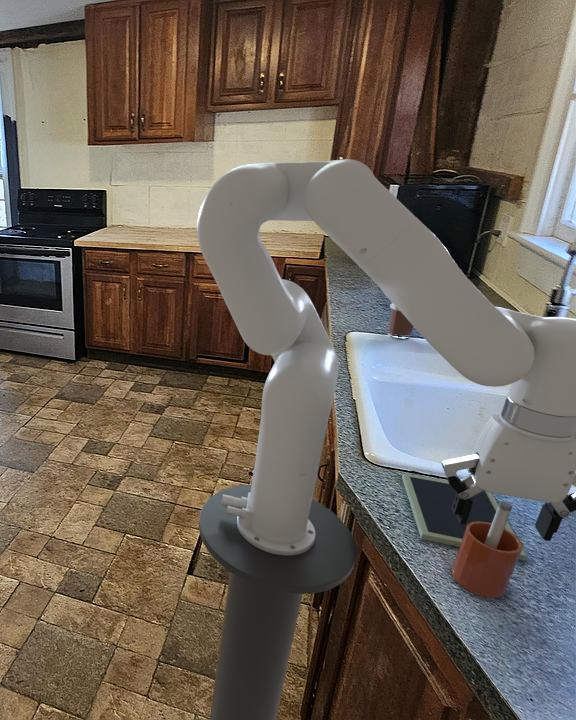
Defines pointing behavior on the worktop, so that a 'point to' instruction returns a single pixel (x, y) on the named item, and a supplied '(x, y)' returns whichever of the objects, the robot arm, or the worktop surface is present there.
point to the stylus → (498, 524)
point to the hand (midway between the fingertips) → (499, 526)
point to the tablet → (446, 510)
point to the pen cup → (485, 561)
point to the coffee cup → (399, 323)
